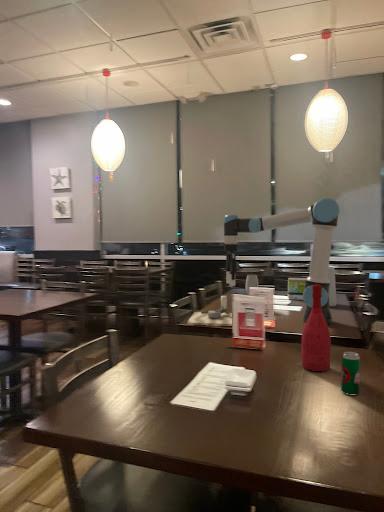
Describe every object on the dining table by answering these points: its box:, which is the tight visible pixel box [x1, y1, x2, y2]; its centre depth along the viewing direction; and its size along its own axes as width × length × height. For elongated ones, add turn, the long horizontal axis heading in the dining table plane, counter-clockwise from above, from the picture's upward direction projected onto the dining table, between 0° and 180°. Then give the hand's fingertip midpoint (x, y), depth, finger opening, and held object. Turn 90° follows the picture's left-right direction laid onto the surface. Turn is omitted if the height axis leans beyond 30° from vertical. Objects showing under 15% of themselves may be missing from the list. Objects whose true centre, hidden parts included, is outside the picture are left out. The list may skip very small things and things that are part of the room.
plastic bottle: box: [327, 265, 337, 308], centre depth 250 cm, size 15×15×28 cm
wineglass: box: [245, 274, 260, 296], centre depth 239 cm, size 9×9×21 cm
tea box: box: [287, 277, 307, 301], centre depth 273 cm, size 15×10×15 cm, turn 81°
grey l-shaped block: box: [208, 295, 228, 319], centre depth 211 cm, size 14×7×10 cm, turn 141°
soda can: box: [340, 351, 361, 395], centre depth 115 cm, size 5×5×12 cm
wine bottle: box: [301, 284, 332, 372], centre depth 135 cm, size 10×10×30 cm
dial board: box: [186, 310, 233, 327], centre depth 209 cm, size 26×26×3 cm
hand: (230, 284), depth 208 cm, fingers open, 10 cm apart
